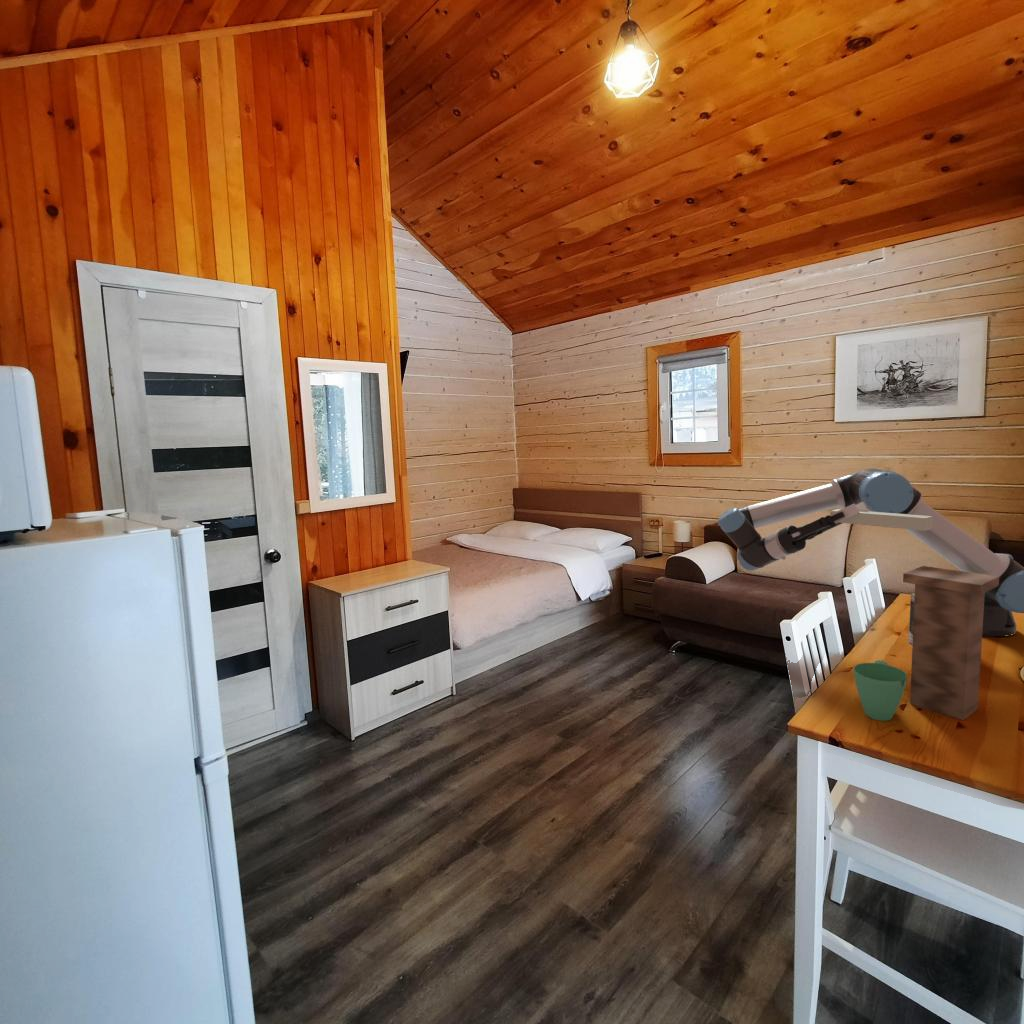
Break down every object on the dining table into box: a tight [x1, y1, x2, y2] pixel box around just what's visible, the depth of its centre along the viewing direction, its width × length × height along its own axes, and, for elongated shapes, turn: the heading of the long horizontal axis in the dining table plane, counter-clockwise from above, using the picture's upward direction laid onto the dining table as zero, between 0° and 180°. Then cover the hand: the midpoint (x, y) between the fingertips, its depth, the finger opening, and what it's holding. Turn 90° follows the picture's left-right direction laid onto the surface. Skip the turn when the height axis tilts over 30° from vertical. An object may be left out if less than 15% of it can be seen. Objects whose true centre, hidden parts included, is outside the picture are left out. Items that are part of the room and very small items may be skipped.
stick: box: [829, 508, 933, 531], centre depth 146 cm, size 22×4×3 cm, turn 34°
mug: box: [853, 659, 909, 722], centre depth 127 cm, size 15×10×10 cm
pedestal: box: [902, 565, 999, 721], centre depth 126 cm, size 14×10×30 cm
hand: (860, 507), depth 149 cm, fingers closed on stick, 4 cm apart
